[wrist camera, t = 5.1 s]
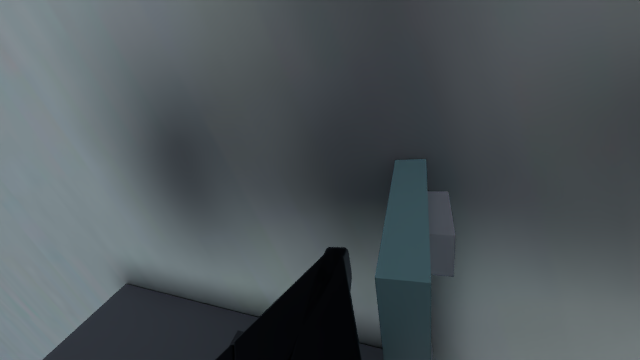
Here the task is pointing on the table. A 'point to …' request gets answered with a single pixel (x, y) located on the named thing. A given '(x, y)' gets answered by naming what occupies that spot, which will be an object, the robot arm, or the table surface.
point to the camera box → (159, 330)
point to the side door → (412, 261)
